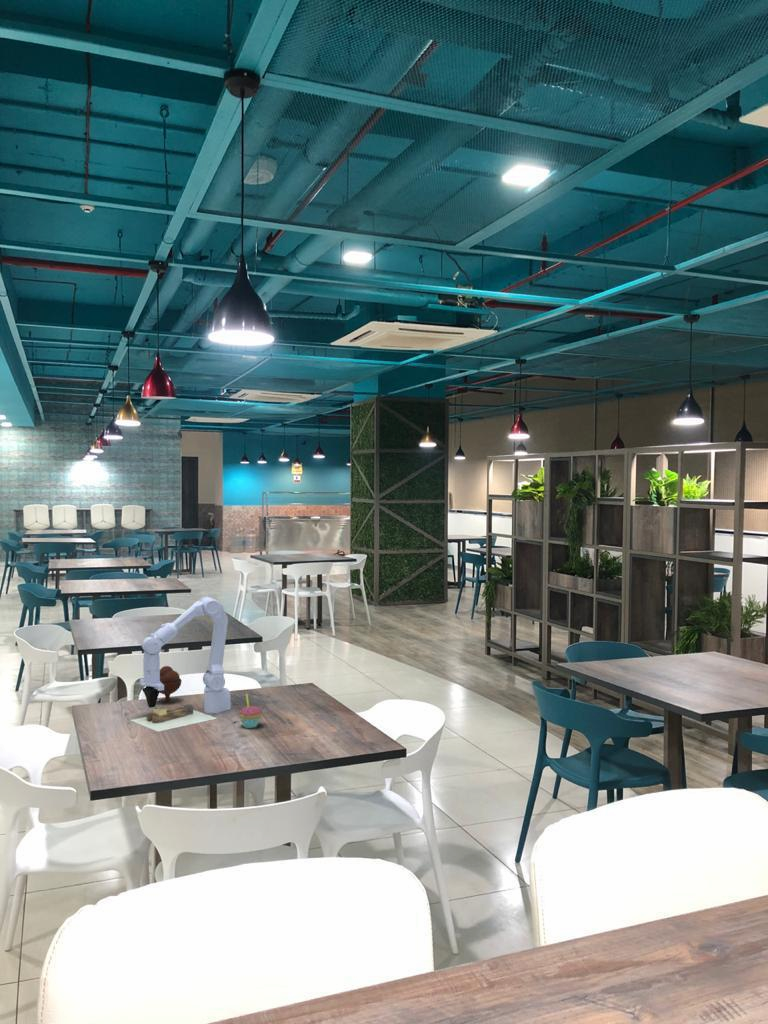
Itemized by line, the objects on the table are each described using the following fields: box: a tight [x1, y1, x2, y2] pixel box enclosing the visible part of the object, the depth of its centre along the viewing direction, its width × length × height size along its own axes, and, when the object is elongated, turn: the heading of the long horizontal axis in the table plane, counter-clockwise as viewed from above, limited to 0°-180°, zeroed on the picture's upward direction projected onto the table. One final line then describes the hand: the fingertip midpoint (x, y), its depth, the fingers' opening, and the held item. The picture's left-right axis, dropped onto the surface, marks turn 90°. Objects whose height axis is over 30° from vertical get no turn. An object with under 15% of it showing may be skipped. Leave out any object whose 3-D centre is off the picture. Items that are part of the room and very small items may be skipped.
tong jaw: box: [152, 707, 188, 723], centre depth 296 cm, size 14×2×2 cm, turn 139°
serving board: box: [130, 709, 218, 732], centre depth 296 cm, size 24×20×1 cm
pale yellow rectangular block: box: [153, 706, 168, 716], centre depth 293 cm, size 3×4×2 cm
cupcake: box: [237, 692, 264, 729], centre depth 291 cm, size 9×8×12 cm
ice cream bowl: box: [159, 665, 182, 704], centre depth 321 cm, size 11×11×15 cm
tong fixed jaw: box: [146, 704, 194, 722], centre depth 299 cm, size 18×4×3 cm, turn 134°
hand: (151, 706), depth 298 cm, fingers closed
